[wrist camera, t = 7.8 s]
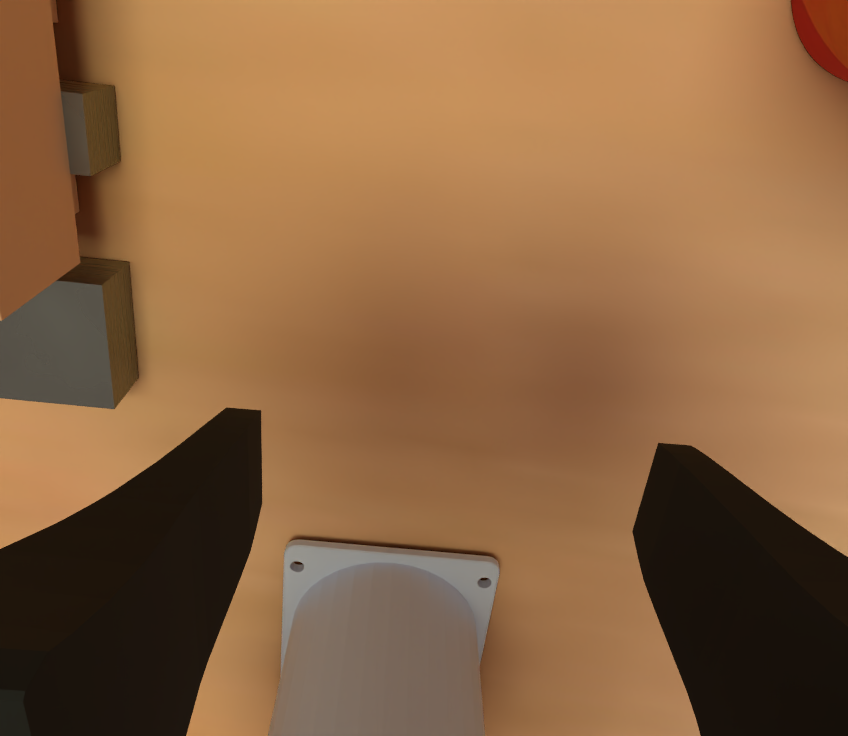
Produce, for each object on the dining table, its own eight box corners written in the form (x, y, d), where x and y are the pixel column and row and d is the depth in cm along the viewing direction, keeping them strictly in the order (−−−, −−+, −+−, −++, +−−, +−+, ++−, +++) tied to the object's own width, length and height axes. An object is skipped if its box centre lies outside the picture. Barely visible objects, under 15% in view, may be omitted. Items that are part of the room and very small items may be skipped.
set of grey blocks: (138, 378, 23) (114, 409, 21) (13, 365, 23) (-21, 395, 21) (87, -246, 16) (43, -279, 14) (-97, -273, 16) (-164, -309, 14)
